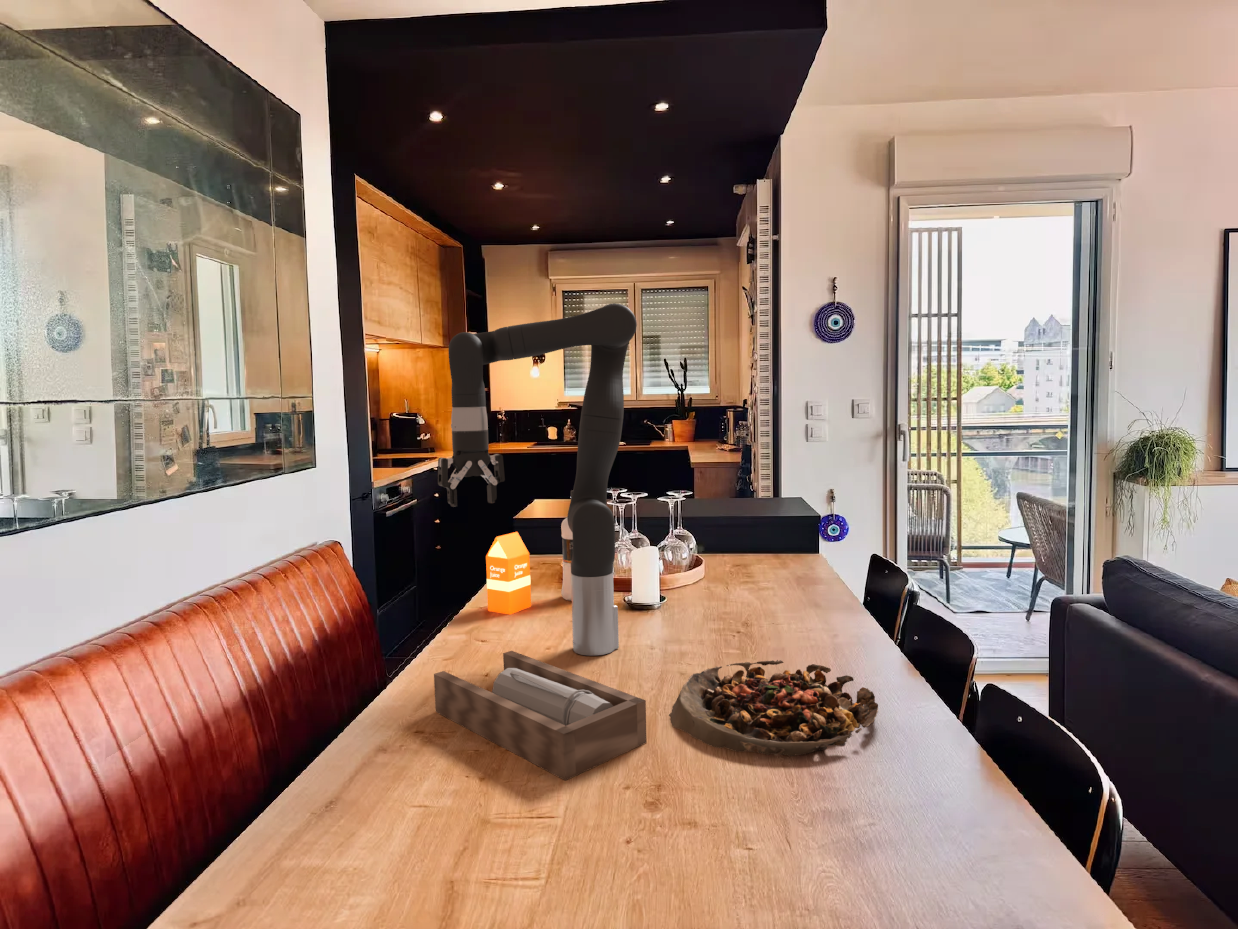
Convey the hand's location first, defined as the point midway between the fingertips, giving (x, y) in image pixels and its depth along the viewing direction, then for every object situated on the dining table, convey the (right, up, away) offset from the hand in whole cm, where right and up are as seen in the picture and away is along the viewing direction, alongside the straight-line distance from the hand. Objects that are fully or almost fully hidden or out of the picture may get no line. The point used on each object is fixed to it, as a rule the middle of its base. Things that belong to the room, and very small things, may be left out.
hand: (472, 504), depth 166 cm
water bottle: (+10, -31, -25) cm, 41 cm away
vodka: (+20, -29, +49) cm, 60 cm away
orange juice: (+2, -30, +40) cm, 50 cm away
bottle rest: (+17, -36, -34) cm, 52 cm away
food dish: (+57, -35, -31) cm, 74 cm away
